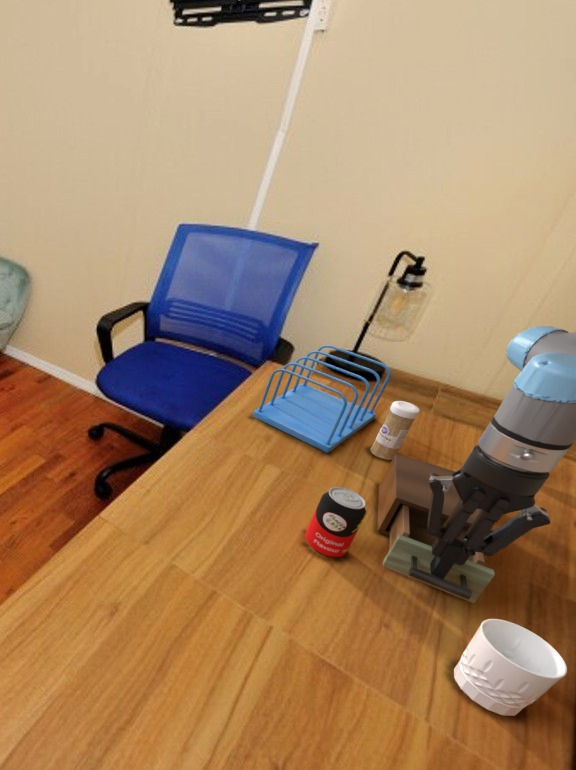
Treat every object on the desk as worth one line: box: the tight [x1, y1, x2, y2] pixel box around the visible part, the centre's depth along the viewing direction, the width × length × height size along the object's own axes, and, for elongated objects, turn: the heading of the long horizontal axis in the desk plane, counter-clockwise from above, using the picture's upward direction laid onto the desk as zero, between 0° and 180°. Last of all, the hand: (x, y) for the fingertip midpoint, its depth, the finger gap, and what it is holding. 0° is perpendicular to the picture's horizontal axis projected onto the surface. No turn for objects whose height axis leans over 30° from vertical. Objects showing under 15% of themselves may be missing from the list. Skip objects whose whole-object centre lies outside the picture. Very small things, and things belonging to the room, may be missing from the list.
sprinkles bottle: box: [369, 400, 421, 461], centre depth 112 cm, size 5×5×14 cm
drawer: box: [382, 503, 496, 604], centre depth 86 cm, size 19×12×7 cm, turn 141°
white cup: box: [453, 618, 568, 717], centre depth 68 cm, size 8×8×10 cm
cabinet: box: [376, 452, 495, 538], centre depth 95 cm, size 16×13×9 cm
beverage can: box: [304, 486, 367, 558], centre depth 90 cm, size 6×6×12 cm
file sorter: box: [252, 344, 392, 454], centre depth 124 cm, size 25×17×15 cm
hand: (436, 571), depth 82 cm, fingers closed
